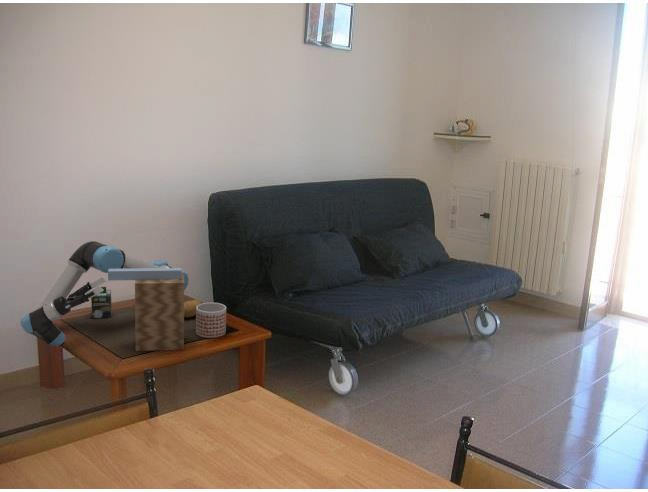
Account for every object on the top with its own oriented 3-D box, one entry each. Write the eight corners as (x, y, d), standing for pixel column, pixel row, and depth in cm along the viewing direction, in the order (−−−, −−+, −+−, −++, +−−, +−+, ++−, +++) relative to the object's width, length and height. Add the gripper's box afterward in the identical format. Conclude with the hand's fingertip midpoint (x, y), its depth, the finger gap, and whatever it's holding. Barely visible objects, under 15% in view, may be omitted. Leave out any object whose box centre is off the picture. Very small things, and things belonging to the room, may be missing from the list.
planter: (191, 330, 303) (192, 304, 300) (219, 326, 309) (220, 301, 306) (201, 340, 291) (201, 313, 288) (230, 336, 298) (230, 310, 295)
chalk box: (111, 311, 321) (111, 283, 318) (111, 317, 312) (111, 288, 309) (92, 312, 318) (91, 283, 315) (91, 318, 310) (90, 289, 306)
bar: (108, 280, 271) (107, 271, 270) (109, 277, 274) (108, 268, 274) (181, 279, 277) (181, 270, 277) (181, 276, 281) (181, 267, 280)
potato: (206, 315, 323) (206, 300, 321) (185, 322, 312) (185, 306, 310) (193, 310, 328) (193, 295, 327) (171, 317, 317) (171, 302, 315)
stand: (135, 350, 275) (134, 283, 268) (137, 338, 289) (136, 274, 282) (183, 349, 280) (184, 282, 273) (183, 337, 293) (183, 273, 286)
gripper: (46, 310, 258) (94, 284, 259) (57, 291, 281) (101, 267, 283) (57, 325, 260) (104, 299, 262) (67, 305, 284) (110, 282, 285)
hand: (103, 283), depth 272 cm, fingers open, 13 cm apart
